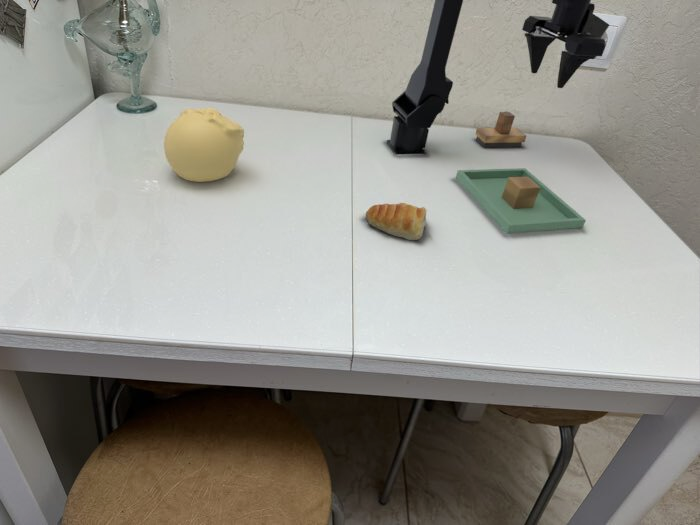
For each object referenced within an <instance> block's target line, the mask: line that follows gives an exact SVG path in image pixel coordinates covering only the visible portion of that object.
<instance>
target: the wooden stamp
mask: <svg viewBox="0 0 700 525" xmlns="http://www.w3.org/2000/svg"><path fill="white" fill-rule="evenodd" d="M515 118H516V115H514V114H513V113H512V112H510V111H499V113H498V117H497V120H496V122H495V127H476V130H475V133H474V134H475V136H476V139H475V141H477V143H478V144H479V145H480V146H482V147H483V148H485V149H486V148H521V147H522V144H523V143H525V142H526V139H527V136H528V135H527V134H525V133H524V132H523V131H521V130H520V129H519V128H517V127H513V124H514V120H515Z"/></svg>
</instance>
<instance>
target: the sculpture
mask: <svg viewBox="0 0 700 525" xmlns="http://www.w3.org/2000/svg"><path fill="white" fill-rule="evenodd" d="M244 137H245V130H244V128H243V126H242V125H240V124H239V123H237V122H235V121H233V120H231V119H229V118H227V116H224V115H223V114H222V113H221V112H220V111H218V110H217V109H215V108H212V107H207V108H198V109H195V108H185V109H183V110H181V112H180V115H179V116H178V117H176V119H174V120H173V121H172V122H171V123H170V125H169V127H168V128H167V130H166V132H165V135H164V140H163V151H164V155H165V158H166V161H167V162H168V165H169V166H170V167H171V170H173V171H174V173H175V174H177V175H178V177H180V178H182V179H184V180H186V181H189V182H198V183H202V182H203V183H204V182H212V181H217V180H220V179H223V178H225V177H227V176H229V175H230V174H231V173H232V171H233V170H234V168H235V166H236V164H237V162H238V160H239V157H240V155H241V154H242V152H243V151H244V145H245V141H244Z"/></svg>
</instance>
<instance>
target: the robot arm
mask: <svg viewBox="0 0 700 525" xmlns="http://www.w3.org/2000/svg"><path fill="white" fill-rule="evenodd" d="M591 1H592V0H552V1H551V4H554V5H555V7H554V10H553V13H552V16H551V17H550V16H539V15H529V16H528V17H527V18H525V19H524V22H523V26H522V29H521V30H522V31H524V37H525V38H526V39H525V40H526V44H527V50H528V56H529V64H530V71H531V72H530V73H532V74H537V73H538V71H539V69H540V68H541V64H542V63H543V60H544V57H545V54H546V52H547V50H548V47H549V46H550V45H551V44H552V43H553V42H554V41H555V40H556V39H557V40H559V41H561V42H564V49H565V50H561V52H560V53H561V54H560V61H559V66H558V67H559V68H558V73H557V74H558V75H557V82H556V83H557V84H556V85H557V86H556V87H557V89H563V88H564V87H565V86H566V85H567V83H568V82H569V81H570V79H571V78H572V77H573V76H574V74H575V73H576V71H577V70H578V69H580V67H581V66H582V65H583V64H584V63H586V62H587V61H589V60H594V59H596V58H597V57H603V54H604V52H605V49H606V48H607V44H606V40H605V39H604V38H602V37H603V36H604V35H605V33H606V32H607V30H608V29H609V27H610V23H608V22H606V21H605V20H604V19H602V18H600V17H599V16H597V15H595V14H594V11H595V8H596V7H595V3H591ZM463 2H464V0H434V2H433V8H432V12H431V17H430V20H429V26H428V30H427V33H426V39H425V42H424V47H423V51H422V55H421V59H420V63H419V64H418V65H417V66H416V68H415V70H414V71H413V72H412V74H411V75H410V78H409V80H408V83H407V85H406V89H405V90H404V91H403V92H402V93H401V94H399V96H397V97H396V98H395V99H394V100H393V101H392V102H391V106H392V112H393V113H394V114H396V115H397V116H396V115H395V116H393V120H392V127H391V132H390V138H389V139H386V144H387V145H388V147H389V149H391V151H392V152H393V153H394V155H426V154H427V152H426V151H425V148H426V146H427V142H428V136H429V131H430V129H431V127H432V125H433V123H434V122H435V120H436V118H437V116H438V115H439V114H441V113H442V112H443V110H444V108H445V106H446V105H449V103H450V102H449V98H450V94H451V92H452V89H453V85H454V82H453V81H452V80H451V79H450V78H449V77H447V73H446V68H447V63H448V60H449V57H450V52H451V49H452V45H453V41H454V37H455V32H456V30H457V26H458V21H459V18H460V14H461V11H462V8H463Z"/></svg>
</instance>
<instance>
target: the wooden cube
mask: <svg viewBox="0 0 700 525" xmlns="http://www.w3.org/2000/svg"><path fill="white" fill-rule="evenodd" d="M540 188H541V187H539V186H538V185H537V184H536V183H535V182H534V181H532V180H531V179H530V178H529V177H508V180H507V183H506V186H505V189H504V192H503V195H502V198H503V199H504V200H505V201H506V202H507V203H508V204H509V205H510V206H511V207H512V208H513V209H520V208H533V206H534V203H535V201H536V198H537V196H538V193H539V191H540Z"/></svg>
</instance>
